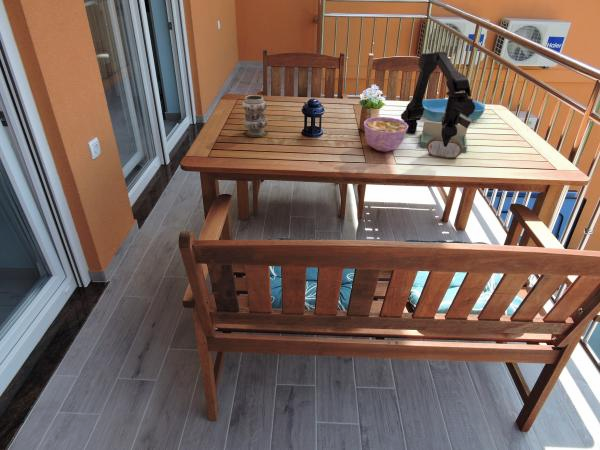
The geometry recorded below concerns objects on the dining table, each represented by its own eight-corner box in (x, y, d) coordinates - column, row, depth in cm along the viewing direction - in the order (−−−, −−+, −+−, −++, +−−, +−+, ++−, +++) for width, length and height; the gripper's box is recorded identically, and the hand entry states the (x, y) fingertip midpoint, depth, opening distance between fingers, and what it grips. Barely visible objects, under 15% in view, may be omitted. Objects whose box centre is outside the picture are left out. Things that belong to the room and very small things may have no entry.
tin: (459, 157, 188) (464, 140, 183) (459, 160, 186) (463, 142, 181) (425, 152, 192) (429, 135, 187) (424, 155, 190) (428, 137, 185)
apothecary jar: (262, 127, 215) (261, 92, 205) (271, 135, 206) (270, 99, 196) (240, 131, 211) (237, 95, 201) (248, 139, 202) (246, 102, 192)
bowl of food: (369, 136, 207) (372, 114, 200) (409, 144, 199) (413, 121, 193) (355, 151, 192) (357, 127, 186) (397, 160, 185) (401, 135, 178)
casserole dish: (425, 124, 223) (427, 111, 219) (411, 111, 241) (413, 98, 237) (490, 122, 227) (493, 110, 223) (471, 109, 245) (474, 97, 241)
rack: (419, 147, 198) (422, 131, 193) (421, 134, 210) (424, 120, 206) (465, 152, 193) (469, 137, 189) (464, 140, 206) (468, 125, 201)
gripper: (474, 117, 167) (464, 153, 176) (472, 103, 182) (463, 137, 191) (445, 114, 170) (437, 149, 178) (445, 100, 185) (438, 134, 193)
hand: (445, 142), depth 185 cm, fingers open, 9 cm apart
